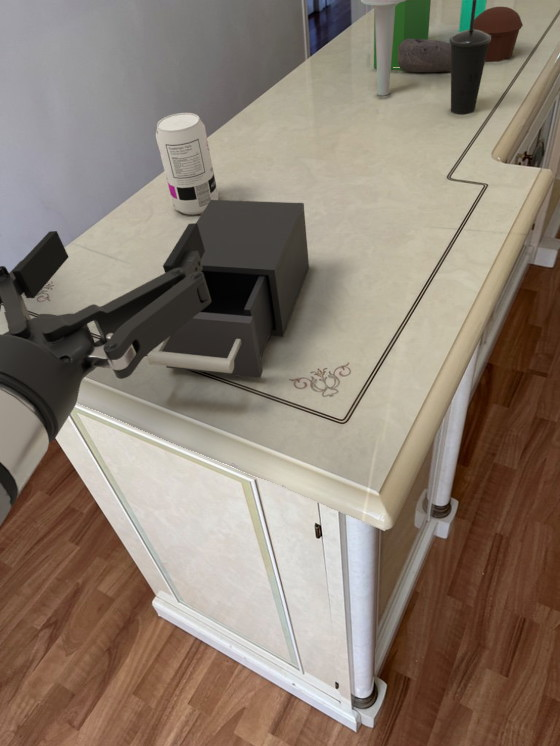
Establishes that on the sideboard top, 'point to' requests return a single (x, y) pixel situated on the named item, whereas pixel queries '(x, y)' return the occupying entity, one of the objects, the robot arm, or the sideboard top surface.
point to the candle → (466, 13)
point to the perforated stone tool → (424, 55)
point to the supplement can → (186, 162)
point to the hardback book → (407, 26)
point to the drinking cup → (467, 66)
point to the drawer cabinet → (259, 247)
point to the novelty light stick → (383, 40)
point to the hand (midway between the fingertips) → (126, 240)
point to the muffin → (499, 31)
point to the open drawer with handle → (223, 329)
